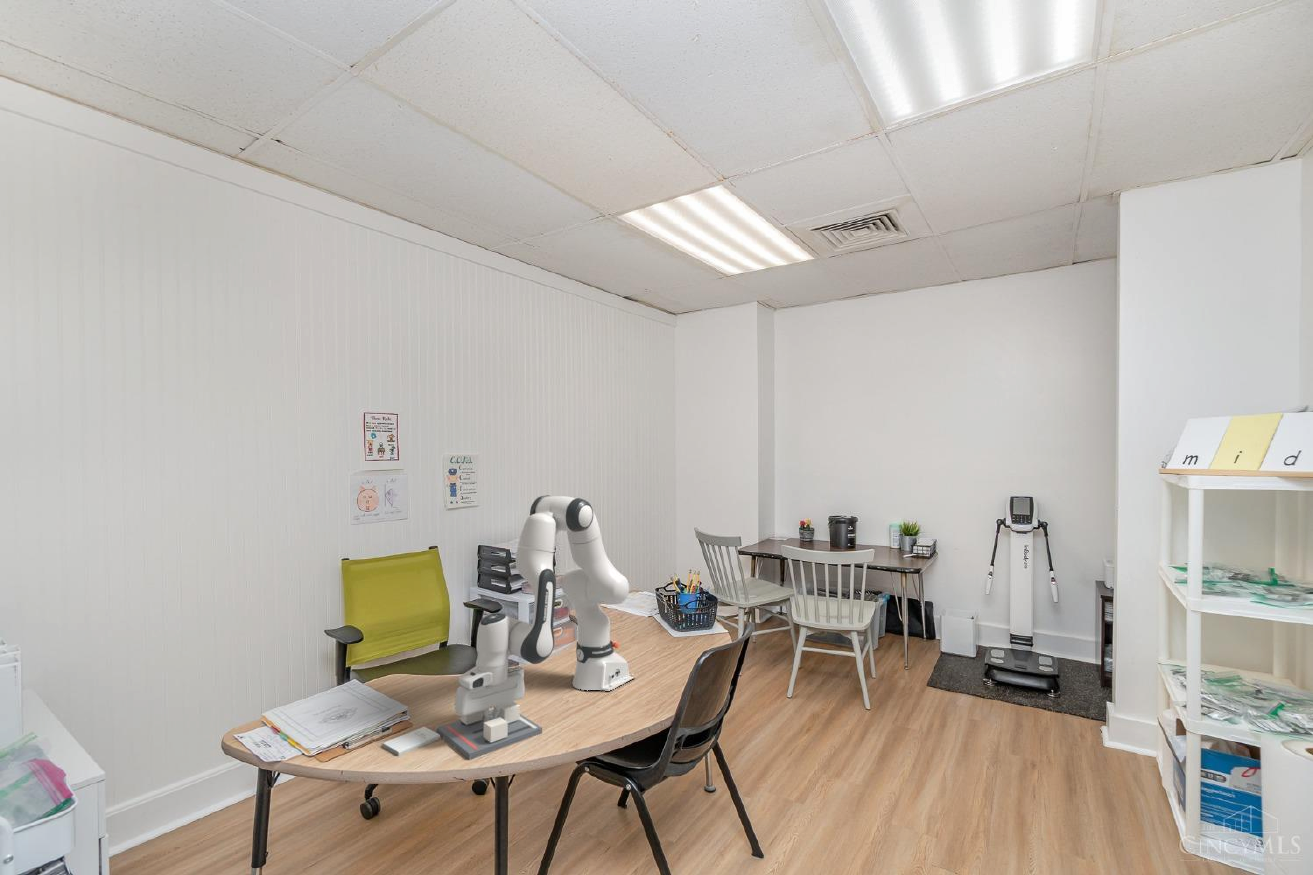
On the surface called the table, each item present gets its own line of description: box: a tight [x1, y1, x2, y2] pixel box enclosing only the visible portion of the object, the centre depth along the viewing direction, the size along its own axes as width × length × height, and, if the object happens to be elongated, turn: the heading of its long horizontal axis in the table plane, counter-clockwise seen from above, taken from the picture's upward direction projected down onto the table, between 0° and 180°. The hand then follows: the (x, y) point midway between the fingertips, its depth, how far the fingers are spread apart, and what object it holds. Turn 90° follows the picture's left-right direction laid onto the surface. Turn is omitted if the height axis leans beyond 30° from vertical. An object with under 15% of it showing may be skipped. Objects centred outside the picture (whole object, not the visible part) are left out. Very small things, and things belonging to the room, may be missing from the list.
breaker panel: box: [436, 708, 543, 761], centre depth 169 cm, size 22×20×2 cm
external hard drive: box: [381, 726, 441, 757], centre depth 163 cm, size 2×8×12 cm
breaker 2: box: [483, 717, 508, 743], centre depth 163 cm, size 5×4×4 cm
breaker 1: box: [459, 711, 483, 725], centre depth 173 cm, size 5×4×4 cm
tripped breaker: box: [497, 701, 521, 723], centre depth 173 cm, size 5×4×4 cm
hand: (490, 722), depth 169 cm, fingers closed
